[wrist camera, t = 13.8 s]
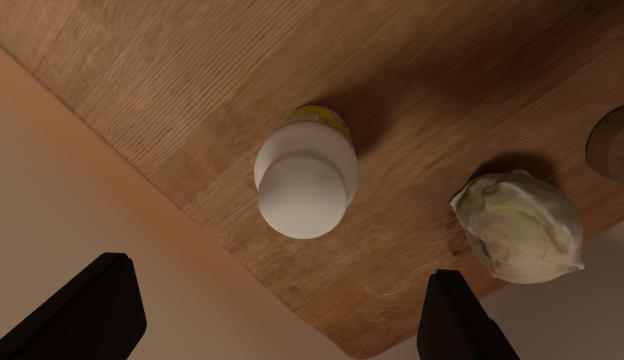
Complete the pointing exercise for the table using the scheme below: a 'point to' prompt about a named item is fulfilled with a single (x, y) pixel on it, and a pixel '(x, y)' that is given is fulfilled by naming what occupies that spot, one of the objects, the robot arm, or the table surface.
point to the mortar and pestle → (608, 147)
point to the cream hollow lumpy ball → (520, 227)
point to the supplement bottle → (307, 173)
